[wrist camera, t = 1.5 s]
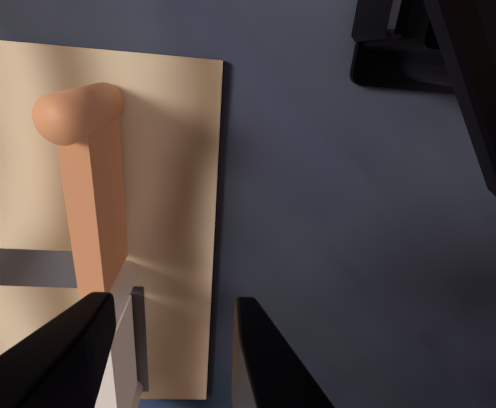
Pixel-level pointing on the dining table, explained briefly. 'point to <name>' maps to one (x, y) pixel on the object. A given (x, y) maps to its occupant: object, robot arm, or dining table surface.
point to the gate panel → (89, 177)
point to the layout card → (136, 202)
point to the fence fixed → (122, 348)
